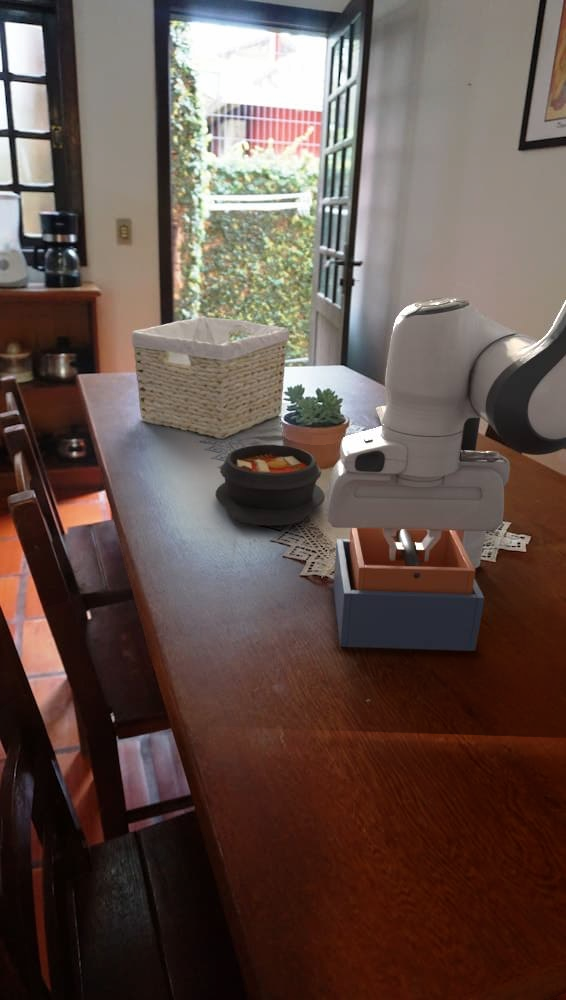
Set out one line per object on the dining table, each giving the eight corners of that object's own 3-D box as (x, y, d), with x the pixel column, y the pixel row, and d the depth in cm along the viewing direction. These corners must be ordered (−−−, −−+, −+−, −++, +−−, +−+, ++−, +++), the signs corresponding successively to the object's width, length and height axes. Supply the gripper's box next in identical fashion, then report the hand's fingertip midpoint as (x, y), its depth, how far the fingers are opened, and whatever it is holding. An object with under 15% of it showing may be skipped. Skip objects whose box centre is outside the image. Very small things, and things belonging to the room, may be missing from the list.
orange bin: (445, 589, 90) (453, 527, 86) (465, 639, 79) (476, 571, 76) (346, 586, 90) (350, 525, 86) (353, 636, 79) (359, 568, 76)
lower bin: (449, 594, 91) (457, 542, 88) (474, 656, 79) (484, 597, 76) (332, 590, 91) (336, 538, 88) (339, 651, 79) (344, 593, 76)
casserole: (325, 539, 105) (328, 488, 102) (205, 533, 106) (204, 483, 102) (323, 479, 128) (325, 437, 125) (224, 475, 129) (224, 433, 125)
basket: (224, 445, 145) (224, 341, 136) (130, 422, 158) (125, 326, 149) (290, 416, 166) (293, 325, 158) (202, 398, 179) (201, 313, 170)
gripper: (504, 442, 79) (487, 549, 84) (328, 438, 79) (322, 545, 84) (521, 461, 73) (502, 574, 79) (331, 457, 73) (325, 570, 79)
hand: (407, 559), depth 82 cm, fingers closed on orange bin
